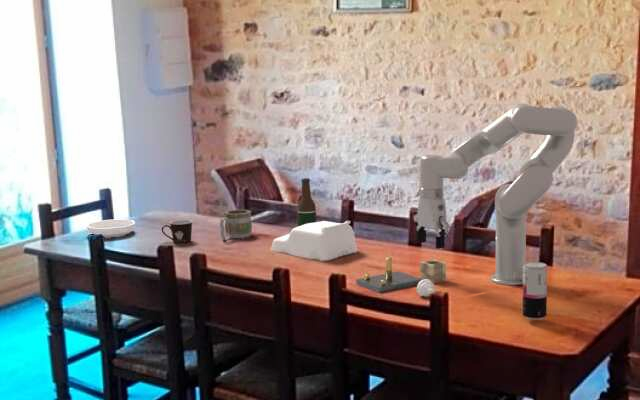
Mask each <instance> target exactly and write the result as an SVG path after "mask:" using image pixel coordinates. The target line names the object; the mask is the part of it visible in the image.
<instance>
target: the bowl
mask: <svg viewBox="0 0 640 400" xmlns="http://www.w3.org/2000/svg"><path fill="white" fill-rule="evenodd" d="M135 227H136V222H135V220H132V219H126V218H125V219H124V218H122V219H121V218H119V219H118V218H115V219H114V218H113V219H105V220H104V219H103V220H102V219H101V220H98V221H93V222H90V223H87V224H86V229H87V232H88V233H89V234H90V235H92V234H102V235H103V236H104V237H105V238H104V239H112V238H111V237H117V238H119V237H118V236H122V237H124V236H123V235H126V234H128V235H130V234H131V232H132V231H134V230H135ZM126 236H127V235H126Z"/></svg>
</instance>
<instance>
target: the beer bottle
mask: <svg viewBox="0 0 640 400" xmlns="http://www.w3.org/2000/svg"><path fill="white" fill-rule="evenodd" d="M310 182H311V179H310V178H308V177H307V178H306V177H305V178H301V198H300V200H299V201H298V203H297V227H299V226H302V225H304V224H308V223H315V222H317V210H316V209H317V207H316V203H315V201H314V200H313V198H312V196H311V195H312V194H311V185H310Z"/></svg>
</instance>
